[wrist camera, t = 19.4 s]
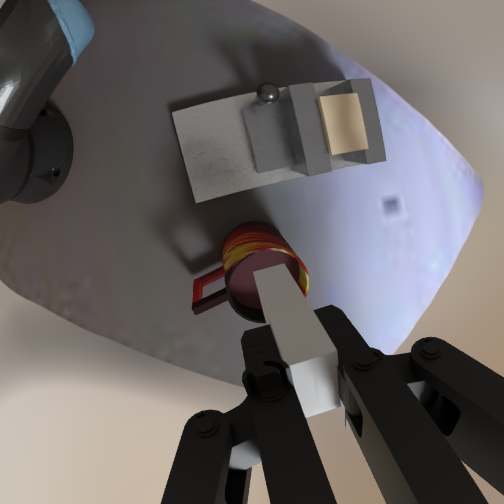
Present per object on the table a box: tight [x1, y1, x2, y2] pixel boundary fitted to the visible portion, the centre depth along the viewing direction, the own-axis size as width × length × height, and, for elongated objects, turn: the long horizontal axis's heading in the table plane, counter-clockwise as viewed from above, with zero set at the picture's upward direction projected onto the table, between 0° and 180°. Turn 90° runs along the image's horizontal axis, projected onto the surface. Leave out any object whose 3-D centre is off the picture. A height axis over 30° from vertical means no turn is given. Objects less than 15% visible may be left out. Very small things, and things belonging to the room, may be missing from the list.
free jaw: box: [241, 82, 332, 176], centre depth 34 cm, size 8×12×8 cm
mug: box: [192, 221, 309, 323], centre depth 40 cm, size 10×14×12 cm
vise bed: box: [172, 78, 386, 203], centre depth 35 cm, size 26×13×8 cm, turn 103°
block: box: [317, 93, 369, 155], centre depth 35 cm, size 5×7×8 cm
